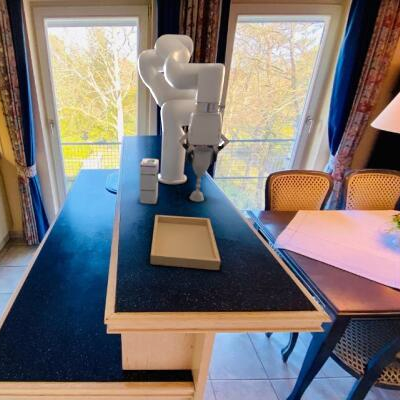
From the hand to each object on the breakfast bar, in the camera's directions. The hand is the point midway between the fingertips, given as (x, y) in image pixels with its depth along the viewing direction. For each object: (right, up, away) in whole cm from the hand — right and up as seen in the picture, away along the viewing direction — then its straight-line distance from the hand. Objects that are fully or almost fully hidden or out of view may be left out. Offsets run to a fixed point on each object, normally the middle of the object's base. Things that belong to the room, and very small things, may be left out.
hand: (200, 163), depth 89 cm
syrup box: (-17, -13, +5) cm, 22 cm away
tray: (-10, -24, -19) cm, 32 cm away
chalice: (0, -12, +6) cm, 13 cm away
